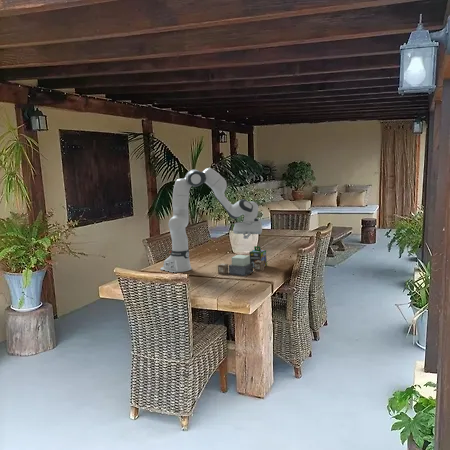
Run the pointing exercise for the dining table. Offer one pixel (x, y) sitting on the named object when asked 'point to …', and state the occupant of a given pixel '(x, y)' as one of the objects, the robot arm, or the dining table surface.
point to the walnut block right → (258, 265)
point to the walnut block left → (223, 269)
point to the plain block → (240, 260)
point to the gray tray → (241, 269)
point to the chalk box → (258, 256)
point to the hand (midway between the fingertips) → (245, 238)
